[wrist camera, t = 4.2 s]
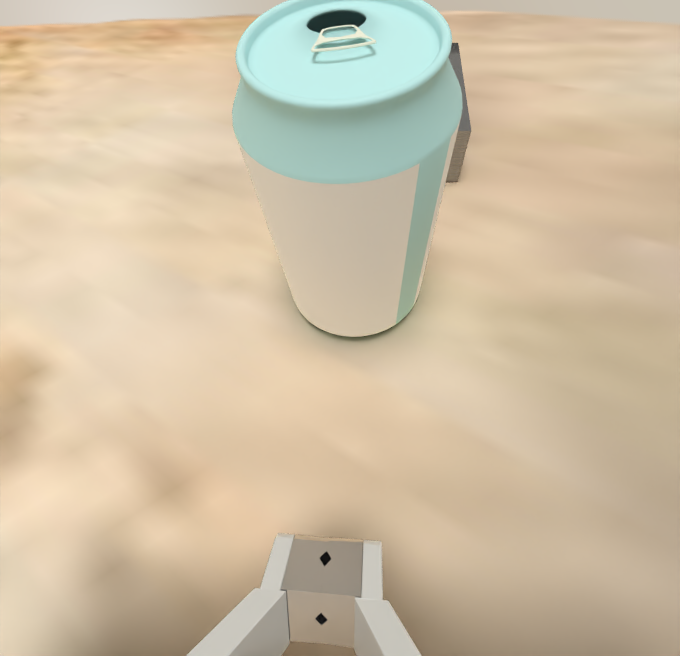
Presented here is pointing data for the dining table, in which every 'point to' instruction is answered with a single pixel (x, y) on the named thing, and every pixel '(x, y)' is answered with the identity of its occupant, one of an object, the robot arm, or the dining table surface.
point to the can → (349, 150)
